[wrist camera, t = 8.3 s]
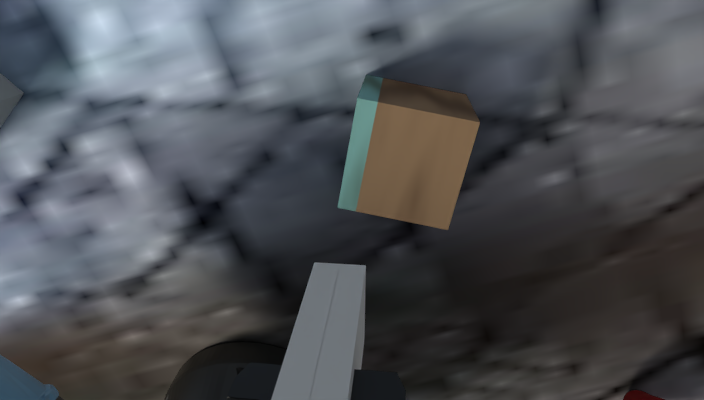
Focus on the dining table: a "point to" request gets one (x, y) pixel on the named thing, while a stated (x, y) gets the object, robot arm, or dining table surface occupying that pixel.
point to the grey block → (8, 98)
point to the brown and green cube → (407, 152)
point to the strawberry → (640, 396)
